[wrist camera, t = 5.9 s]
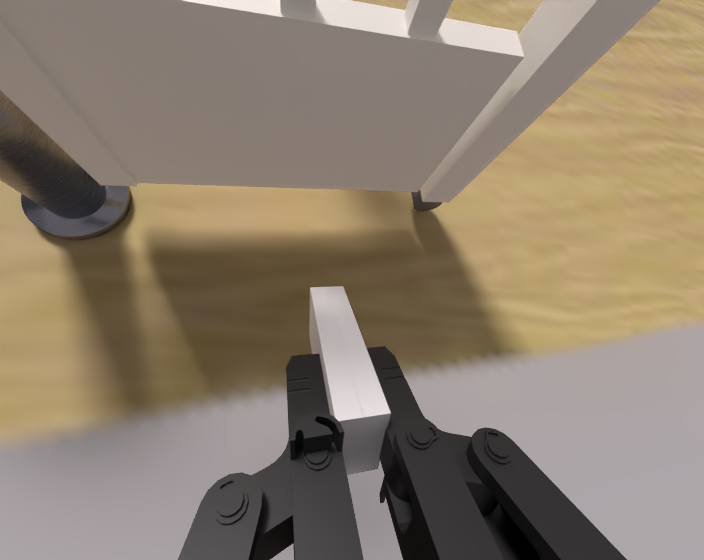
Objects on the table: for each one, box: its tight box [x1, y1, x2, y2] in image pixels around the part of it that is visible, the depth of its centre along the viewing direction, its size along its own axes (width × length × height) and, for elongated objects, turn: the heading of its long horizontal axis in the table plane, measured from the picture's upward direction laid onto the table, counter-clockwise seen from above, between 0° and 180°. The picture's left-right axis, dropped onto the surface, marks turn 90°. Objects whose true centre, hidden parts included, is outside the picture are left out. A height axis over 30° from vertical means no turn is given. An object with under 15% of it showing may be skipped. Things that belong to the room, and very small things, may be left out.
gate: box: [0, 0, 660, 211], centre depth 12 cm, size 20×2×18 cm, turn 96°
